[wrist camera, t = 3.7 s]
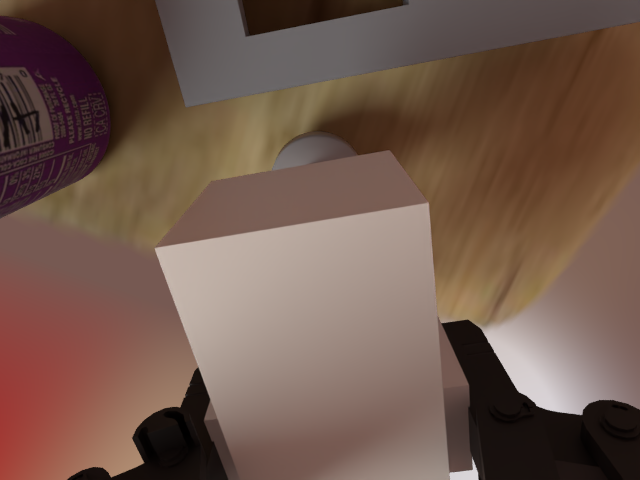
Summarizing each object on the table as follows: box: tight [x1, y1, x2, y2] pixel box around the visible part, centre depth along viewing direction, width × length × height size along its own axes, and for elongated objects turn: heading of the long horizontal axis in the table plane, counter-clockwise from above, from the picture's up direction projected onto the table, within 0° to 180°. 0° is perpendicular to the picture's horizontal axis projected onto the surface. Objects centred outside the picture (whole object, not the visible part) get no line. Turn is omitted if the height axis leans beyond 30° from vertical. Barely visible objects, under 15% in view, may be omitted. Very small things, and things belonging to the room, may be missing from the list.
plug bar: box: [155, 131, 450, 480], centre depth 15 cm, size 12×4×12 cm, turn 10°
